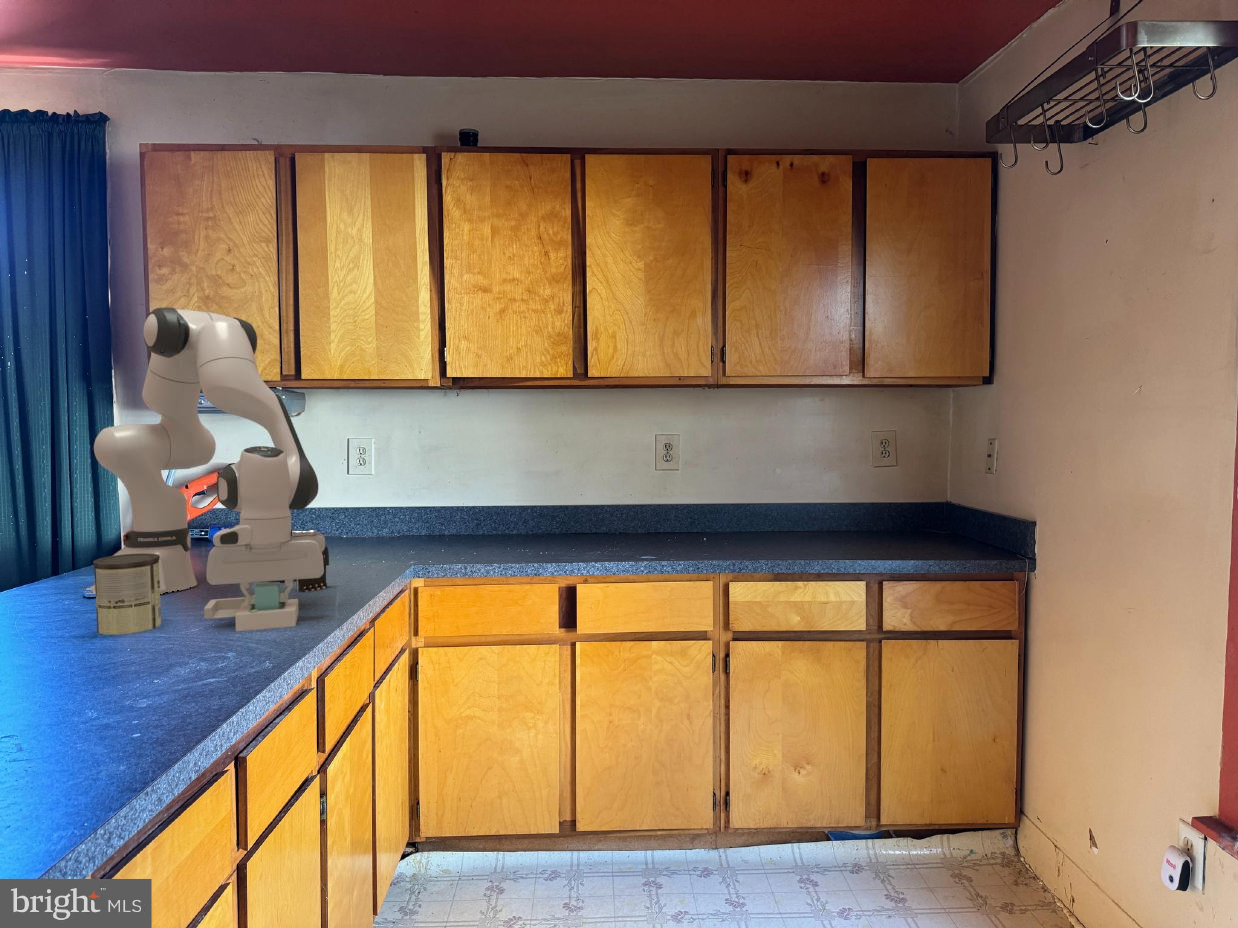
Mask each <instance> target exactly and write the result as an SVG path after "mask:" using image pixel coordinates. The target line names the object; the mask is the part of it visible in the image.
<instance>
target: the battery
mask: <svg viewBox="0 0 1238 928" xmlns="http://www.w3.org/2000/svg"><path fill="white" fill-rule="evenodd" d="M322 556H323V564H324V573H323V574H322V576H321V577H320V578H310V579H295V580H296V582H295V583H296V592H298V593H305V592H306V593H307V592H310V591H316V589H317V590H320V589H326V588H328V584H327V567H328V566H330V553H329V547H328V546H327V545H326V544H325V549H324V550H323V551H322Z"/></svg>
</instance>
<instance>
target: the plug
mask: <svg viewBox="0 0 1238 928" xmlns="http://www.w3.org/2000/svg"><path fill="white" fill-rule="evenodd" d="M279 593H281V581H271V582H256V585H254V595H255V609H257V610H258V611H261V610H274V609H280V604H279Z"/></svg>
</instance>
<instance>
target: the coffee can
mask: <svg viewBox="0 0 1238 928" xmlns="http://www.w3.org/2000/svg"><path fill="white" fill-rule="evenodd" d="M159 559H160V556H159V555H157V554H149V553H148V554H147V553H140V554H124V555H116V556H113V555H111V556H110V555H109V556H106V557H105V556H104V557H100V558H98V559H95V560H93V567H94V584H95V590H96V598H95V607H96V627H97V630H96V631H97V634H98V633H99V635H103V636H104V635H105V636H115V635H116V636H118V635H120V636H121V635H122V636H123V635H129V634H136V633H142V632H147V631H151V630H153V629H157V628H158V627H160V626H162V606H161V595H160V576H159Z"/></svg>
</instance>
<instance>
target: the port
mask: <svg viewBox="0 0 1238 928" xmlns="http://www.w3.org/2000/svg"><path fill="white" fill-rule="evenodd" d="M235 616H236V617H235V632H244V631H245V632H246V631H247V632H248V631H257V630H268V629H270V630H271V629H280V628H281V629H282V628H291V627H292V628H293V627H296V625H297V621H298V617H299V598H291V599H290V598H288V603H281V604H280V609H274V610H261V611H258V610H257V609H255V605H254V606H248V605H247V603H242V605H241V606H240V608H239V610H238V611H237V613H236V615H235Z"/></svg>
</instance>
